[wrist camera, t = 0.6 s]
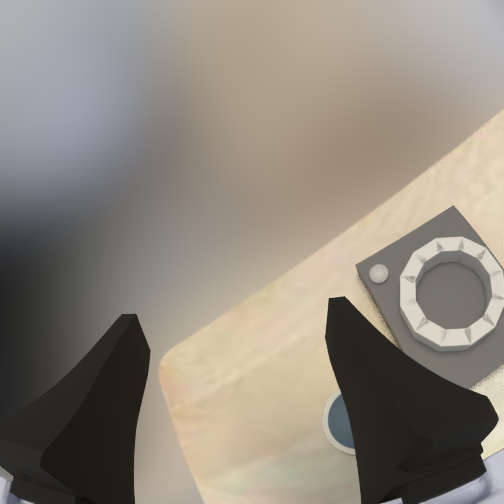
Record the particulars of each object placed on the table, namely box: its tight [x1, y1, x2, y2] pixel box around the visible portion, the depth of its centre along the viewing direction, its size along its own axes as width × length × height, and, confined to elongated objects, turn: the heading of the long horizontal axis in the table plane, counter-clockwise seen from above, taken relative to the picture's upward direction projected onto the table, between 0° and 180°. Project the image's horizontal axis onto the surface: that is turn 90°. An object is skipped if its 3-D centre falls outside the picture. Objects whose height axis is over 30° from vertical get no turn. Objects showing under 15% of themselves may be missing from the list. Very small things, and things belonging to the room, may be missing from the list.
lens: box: [322, 388, 356, 456], centre depth 19 cm, size 5×5×7 cm
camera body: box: [356, 205, 504, 389], centre depth 22 cm, size 14×11×4 cm
